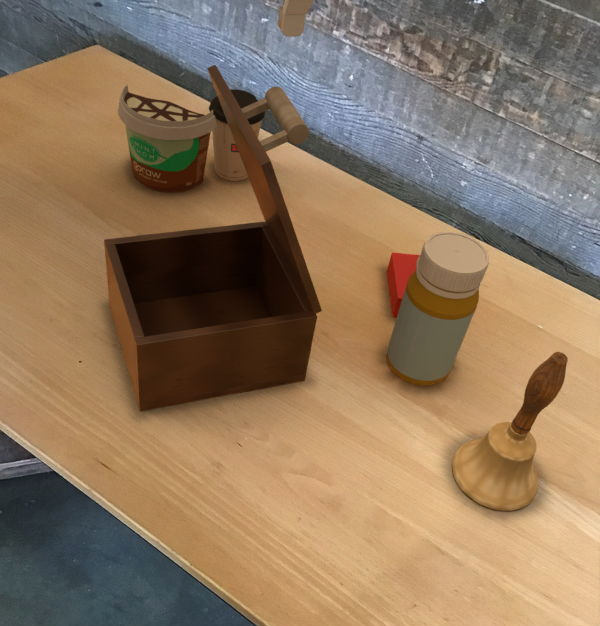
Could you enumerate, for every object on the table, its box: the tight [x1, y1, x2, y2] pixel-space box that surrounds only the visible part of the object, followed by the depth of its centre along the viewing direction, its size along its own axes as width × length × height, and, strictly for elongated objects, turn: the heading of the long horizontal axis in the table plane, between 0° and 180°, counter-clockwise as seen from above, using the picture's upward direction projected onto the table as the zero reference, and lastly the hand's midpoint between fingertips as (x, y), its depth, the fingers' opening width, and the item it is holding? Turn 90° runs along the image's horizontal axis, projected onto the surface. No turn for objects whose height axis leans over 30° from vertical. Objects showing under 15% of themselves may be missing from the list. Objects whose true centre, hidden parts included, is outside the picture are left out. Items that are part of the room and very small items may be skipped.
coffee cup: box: [208, 88, 266, 182], centre depth 96 cm, size 7×7×10 cm
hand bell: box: [451, 351, 569, 512], centre depth 66 cm, size 8×8×16 cm
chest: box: [103, 220, 318, 412], centre depth 75 cm, size 17×15×9 cm
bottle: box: [385, 230, 490, 386], centre depth 75 cm, size 7×7×15 cm
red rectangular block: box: [386, 252, 421, 318], centre depth 86 cm, size 8×7×6 cm
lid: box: [206, 64, 323, 315], centre depth 67 cm, size 18×15×5 cm
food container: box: [117, 84, 217, 193], centre depth 92 cm, size 12×6×10 cm, turn 71°
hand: (272, 7), depth 65 cm, fingers open, 8 cm apart
